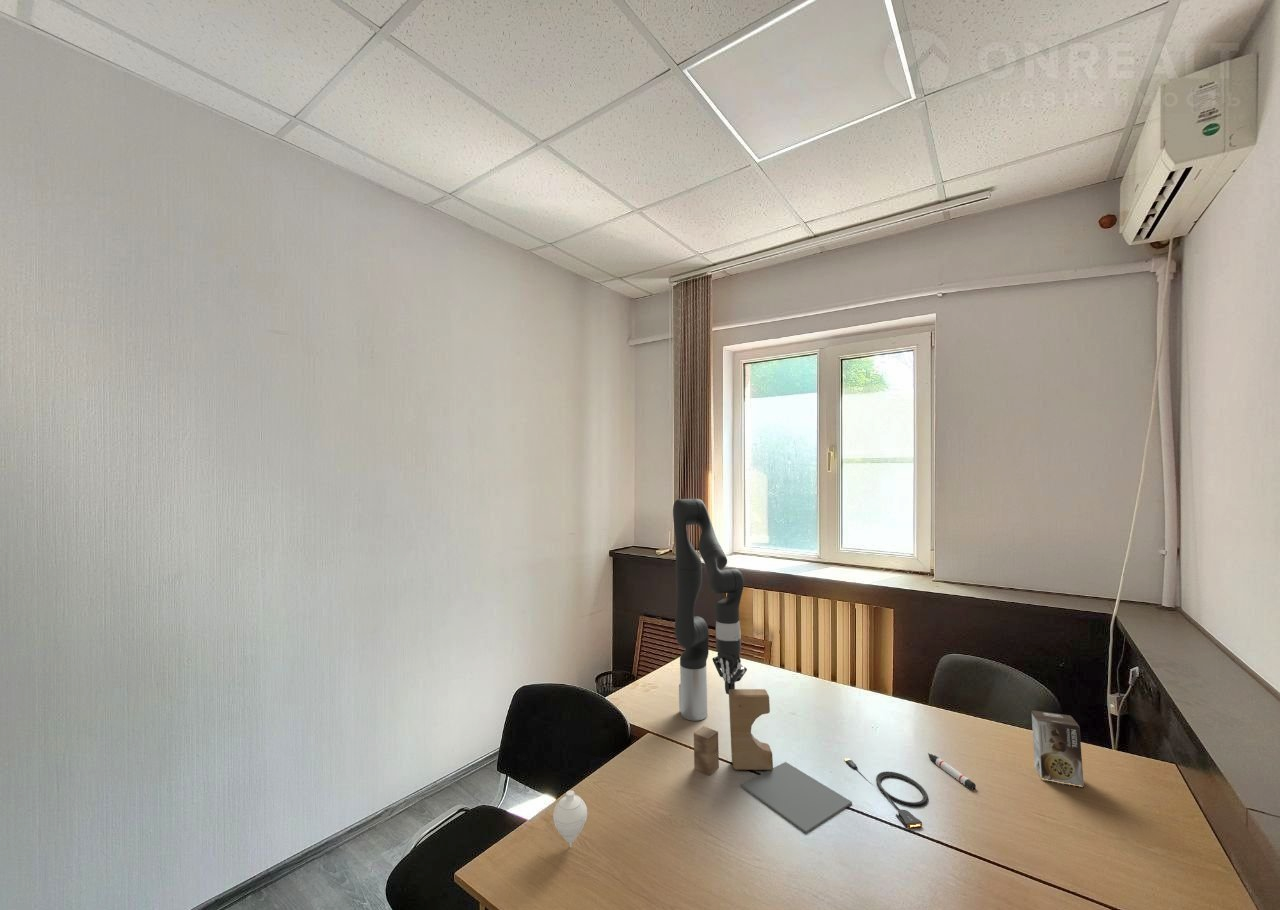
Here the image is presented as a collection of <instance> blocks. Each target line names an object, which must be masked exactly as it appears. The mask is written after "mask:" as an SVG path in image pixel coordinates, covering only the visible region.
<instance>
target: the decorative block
mask: <svg viewBox="0 0 1280 910" xmlns="http://www.w3.org/2000/svg"><path fill="white" fill-rule="evenodd" d="M728 705H729V708H728V709H729V725H730V727H729V728H730V730H729V732H730V750H731V751H730V752H731V753H730V755H731V762H732V763H731V764H732V767H733V769H734V770H736V771H737V770H738V771H741V770H742V771H743V770H744V771H745V770H746V771H747V770H749V771H750V770H751V771H768V770H772V769H773V768H774V760H773V758H774V757H773V752H772V749H771V746H770V745H769V743H766V742H762V741H760V740H758V739H757V738H756V737H755V736H754V735H753V734H752V726H753V724H754V723H755V721H756V720H757V719H758V718H759V717H761V716H762V715H766V714H770V712H771V707H770V696H769V694H768V691H767V690H766V689H765V688H761V689H758V688H755V689H754V688H746V689H745V688H744V689H743V688H738V689H737V688H735V689H729V695H728Z"/></svg>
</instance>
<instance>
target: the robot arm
mask: <svg viewBox="0 0 1280 910" xmlns="http://www.w3.org/2000/svg"><path fill="white" fill-rule="evenodd" d="M672 518H673V520H672V521H673V529H674V530H673V531H674V540H675V582H676V595H675V597H676V604H675V605H676V607H675V620H674V635H675V639H676V642H677V643H678V645H679V646H680V647H681V648H684V650H683V652H682V654H681V655H680V657H679V675H680V676H679V677H680V680H679V681H680V683H679V685H678V704H679V709H678V710H679V711H678V712H679V713H680V715H681V717H682V718H683V719H685V720H688V721H693V722H695V721H702V720H704V719H706V718H707V717H708V685H707V684H708V683H707V681H708V680H707V678H708V677H707V660H708V658H709V652H710V651H709V650H710V649H709V647H710V646H709V645H710V640H709V638H710V633H709V626H708V624H707V622H706V621H705V619H704V618H703V617H701V616H699V615H696V616H695V607H696V606H695V605H696V603H697V599H698V596H699V593H700V590H701V587H702V584H703V562H704V564H705V567H706V568H705V569H706V573H707V577H708V585H709V589H711V591H712V592H714V593H715V594H717V595H722V594H727V595H726V597H725V598H722V599H721V600H718V601H717V602H716V603H715V650H716V652H717V655H716V656H715V657H712V662H713V664H714V667H715V669H716V671H717V673H718V676H719V677H720V678H722V679H723V681H724V691H725V694H726V695H728V696H729V689H736V688H735V687H736V686H735V685H736V683H737V682H740V681H741V680H742V678H743V676H744V675H745V674H746V672H747V671H748V669H747V667H746V666H743V665H742V663H741V661H742V660H741V657H740V655H741V652H742V640H741V639H742V638H741V631H742V630H741V623H740V604H741V600H742V595H743V591H744V585H745V579H744V576H743V573H742V572H741V570H739V569H737V568H726V569H725V567H727V564H728V559H727V556H726V554H725V552H724V550H723V549H722V547H721V545H720V543H719V540H718V538H717V535H716V533H715V530H714V527H713V524H712V521H711V518H710V515H709V511H708V508H707V506H706V505H705V503H704V501H703V500H702V499H700V498H679V499H678V498H677V499H676V500H675V501H674V502H673V507H672ZM689 525H690V526H692V525H698V526H699V528H700V530H701V532H700V536H699V540H698V551H699V553H700V556H699V554H698V553H697V551H696V549H695V548H694V546H693V544H692V543H691V541H690V539H689V536H688V532H687V526H689ZM702 561H703V562H702Z"/></svg>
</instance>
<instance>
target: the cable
mask: <svg viewBox="0 0 1280 910" xmlns="http://www.w3.org/2000/svg"><path fill="white" fill-rule="evenodd" d="M844 762H845V763H846V764H847V765H848V767H849V768H851V769H853V770H855V771H856V772H858V774H859V775H860V776H861V777H862V778H864V779H865V781H867V782H868V783H869V784H871V785H872V786H873V787H875V785H873V784H872V783H871V782H870V781H869V780H868V779H867V778H866V776H864V775H863V774H862V772H860V771H859V768H858V766H857V764H856V763H855V762H854V761H853V760H852V759H850V758H844ZM889 778H890V779H891V778H892V779H898V780H902V781H905V782H907V783H909V784H911V785H912V786H914V787H915V788H916V789H917V790H918V791H920V793H921V794H922V799H921V800H920V801H914V802H913V801H906V800H903V799H899V798H897V797H896V796H893V795H892V794H890V793H889V792H887V791H886V789H884V788H883V786H882V781H883V780H886V779H889ZM875 781H876V786H877V788H878V789H879V790H880V792H881V793H882V794H883V795H884V796H886V797H887V799H888V800H889V802H890V803H892V805H893V806H894V807H895V808H896V809H897V810H898V814H897V813H896V814H895V817H896V818H897V819H898V820H899V821H900V822H901V823H902V824H903V825H904V827H905V828H906V829H909V830H912V829H916V828H920V829H922V828H923V822H922V821H921V820H920V819H918V818H917V817H916V816H914V814H913V813H911V812H910V811H908V809H900V808H899V807H898V806H897V804H896V803H898V804H899V805H902V806H905V807H908V808H909V807H910V808H922V807H924V806H926V805H927V804H928V802H929V796H928V793H927V791H926V790H925V788H924V787H923V786H922V785H921V784H919V782H918V781H915V780H914V779H913V778H911V777H909V776H907V775H905V774H903V773H899V772H895V771H882V772H879V773H877V775H876V779H875Z"/></svg>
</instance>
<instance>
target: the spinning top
mask: <svg viewBox="0 0 1280 910" xmlns="http://www.w3.org/2000/svg"><path fill="white" fill-rule="evenodd" d="M552 817H553V823H554V825H555V828H556V830H557V832H558V833H559V834H560V836H561V837H562V838H563V839H564V840H565V841H566V842H567V843H568V844H569V848H572V844H573V843H574V841H575V840H576V839H577V837H579V835H580V833H581V831H582V830H583V828H584V826H585V824H586V821H587V818H588V807H587V805H586V803H585V801H584V800H583V799H582V798H581V797H580V796H579V795H577V794H575V791H574V790H570V789H569V790H568V791H566V793H565V796H563V797H561V798H560V800H559V801H558V802H557V803H556V805H555V807H554V810H553V814H552Z"/></svg>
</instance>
